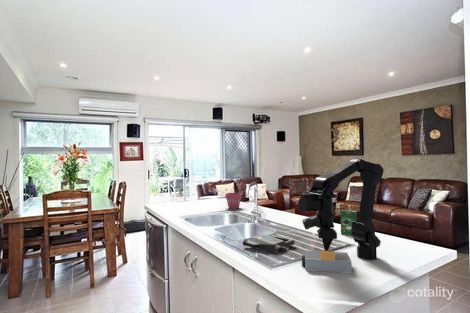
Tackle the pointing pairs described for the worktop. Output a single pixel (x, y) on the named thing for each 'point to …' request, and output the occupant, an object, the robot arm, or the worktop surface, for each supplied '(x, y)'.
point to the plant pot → (233, 200)
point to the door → (328, 263)
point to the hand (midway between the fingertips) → (326, 250)
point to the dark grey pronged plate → (269, 243)
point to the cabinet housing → (317, 255)
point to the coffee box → (347, 221)
